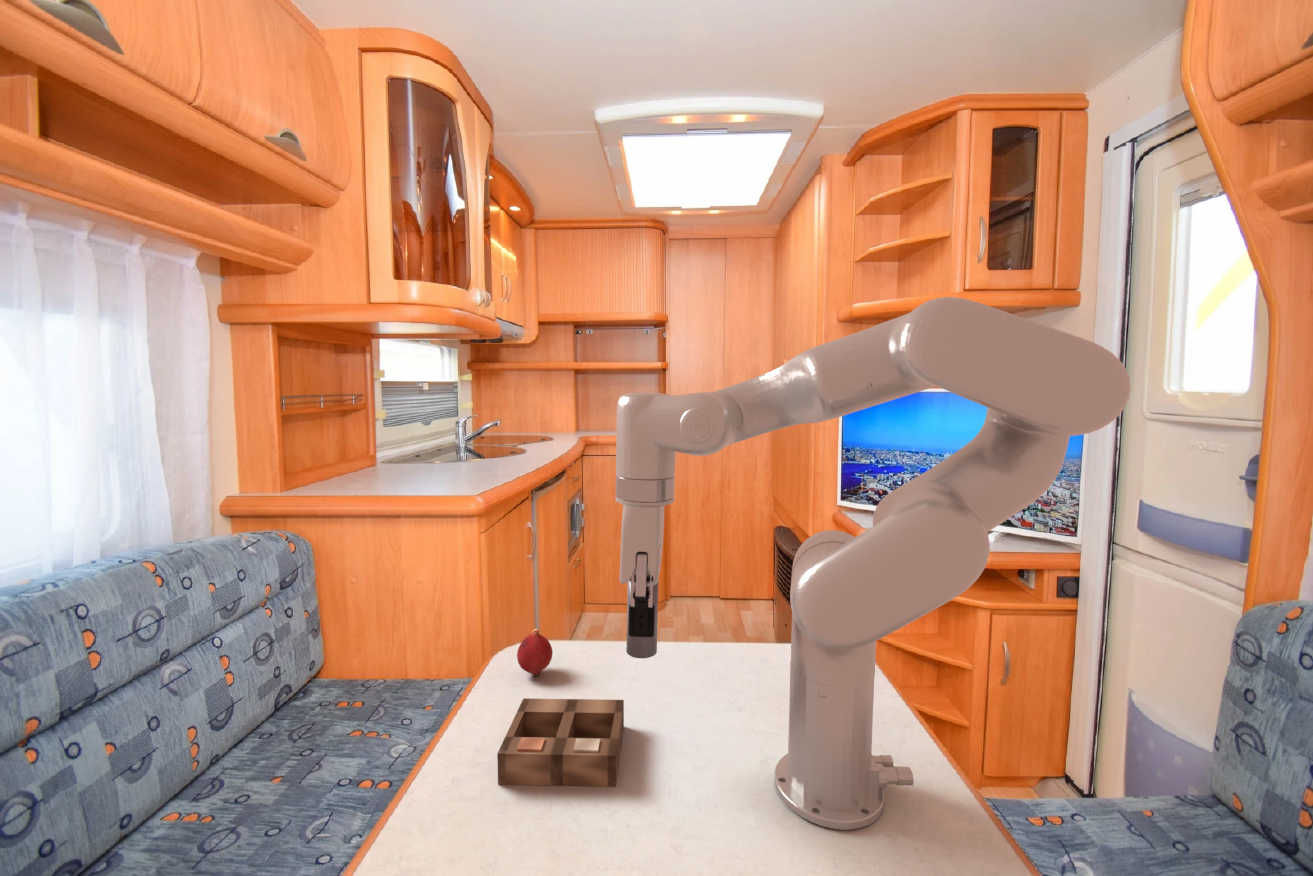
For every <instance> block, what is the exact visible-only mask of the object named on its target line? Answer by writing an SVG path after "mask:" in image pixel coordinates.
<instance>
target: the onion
mask: <svg viewBox="0 0 1313 876" xmlns="http://www.w3.org/2000/svg"><path fill="white" fill-rule="evenodd" d="M516 653H517V654H516V659H517V662H518V666H519V668H520V669H522V670H523V671H524V672H526V673H529V674H531V675H533V676H538V675H539V674H540V673H542V671H544V670H545V669H546V668H547V667H548V666H549V665H550V663H551V661H552V658H553V654H554V653H553V646H552V645H551V643H550V641H549V640H548V638H546V637H545V636H544V635H543V634H541V633H540V630H539V629H538V628H534V629H533V630H532V632H531V633H530V634H527V636H525V637H524V638H523V639H522V640H521V643H520V644H519V647H518V649H517V652H516Z"/></svg>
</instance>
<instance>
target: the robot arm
mask: <svg viewBox="0 0 1313 876" xmlns="http://www.w3.org/2000/svg"><path fill="white" fill-rule="evenodd" d="M1127 370H1128V369H1126V367H1125V366H1124V364H1123V362H1122V361H1121V360H1120V359H1119V358H1118V357H1117V356H1116V355H1115V354H1114V353H1113V352H1111V351H1109V349H1107V348H1105V347H1104V346H1102V345H1100V344H1097V343H1096V342H1094V341H1091V340H1088V339H1085V338H1082V337H1081V336H1080V337H1079V336H1077V335H1074V334H1072V333H1068V332H1065V331H1062V330H1059V329H1056V328H1053V327H1050V326H1047V325H1046V324H1045V325H1044V324H1041V323H1039V322H1036V321H1032V320H1030V319H1028V318H1025V317H1022V316H1019V315H1016V314H1014V313H1010V312H1009V311H1008V312H1007V311H1005V310H1001V309H999V308H996V307H994V306H990V305H988V304H984V303H980V302H977V301H974V300H970V299H967V298H963V297H955V296H943V297H937V298H934V299H930V300H927V301H925V302H922V303H921V304H920V305H918V306H917V307H915V308H914V309H913V310H912V311H909V312H908V313H906V314H904V315H900V316H898V317H895V318H892V319H890V320H886V321H884V322H881V323H878V324H876V325H874V326H871V327H868V328H866V329H863V330H860V331H857V332H854V333H851V334H849V335H845V336H843V337H840V338H838V339H837V338H836V339H834V340H833V339H832V340H831V341H828V342H826V343H823V344H818V345H817V346H813V347H811V348H809V349H807V350H804V351H802V352H800V353H798V354H796V355H795V356H793V357H792V358H790V359H789V360H787V362H785V363H783V364H782V365H780V366H778V367H776V368H774V369H772V370H769V371H767V372H766V373H765V372H764V373H762V374H761V375H758V376H757V375H756V376H755V377H753V378H750V379H747V380H743V381H742V382H738V383H736V384H733V385H730V386H728V387H724V388H722V389H719V390H715V391H710V392H709V391H706V392H704V391H703V392H694V393H685V394H678V395H670V394H667V393H663V392H662V393H661V392H659V393H658V392H627V393H624V394H622V395H621V396H619V398H618V401H617V404H616V405H617V406H616V439H615V440H616V444H615V445H616V446H615V447H616V449H615V451H616V452H615V454H616V455H615V502H616V503H618V504H620V505H622V514H621V530H620V557H619V559H620V561H619V579H618V580H619V583H620V584H621V585H625V583H626V584H628V582H629V580H630V578H631V604H629V636H631V637H653V636H654V612H655V605H653V585H655V584H657V583H658V584H659V579H660V574H661V565H662V557H663V556H662V555H663V551H664V550H663V548H664V531H665V506H668V505H669V506H670V505H671V504H673V503H675V485H676V484H675V482H676V481H675V480H676V479H675V478H676V477H675V476H676V453H679V454H680V453H681V454H685V455H690V456H697V457H705V456H710V455H711V456H712V455H714V454H717V453H718V452H720V451H721V450H723V449H725V448H726V447H728V446H732V445H734V444H736V443H739V442H743V441H745V440H749V439H752V438H754V437H758V436H760V435H764V434H767V433H770V432H774V431H777V430H781V429H785V428H787V427H792V426H797V425H804V424H816V423H817V424H818V423H823V422H826V421H830V420H834V419H837V418H841V417H843V416H847V415H850V414H853V413H855V412H856V413H857V412H858V411H863V410H865V409H869V408H872V407H875V406H878V405H881V404H884V403H888V402H890V401H894V400H896V399H901V398H904V397H907V396H909V395H913V394H915V393H920V392H922V391H925V390H928V389H932V388H935V387H938V388H940V389H943V390H945V391H947V392H950V393H952V394H954V395H957V396H959V397H961V398H963V399H966V400H968V401H971V402H973V403H976V404H979V405H981V406H984V407H986V416H985V419H984V422H983V425H982V427H981V428H980V430H979V432H978V433H977V434H976V435H975V436H974V438H973V439H971V440H970V441H969V442H968V443H966V444H965V445H964V446H962V447H961V448H960V449H959V450H957V451H956V452H954V453H953V454H951V455H950V456H949V457H947V458H946V459H944V460H943V461H940V462H939V463H938V464H936V465H934V466H933V467H931V468H929V469H927V470H926V471H925V472H923V473H921V474H919V475H918V476H916V477H915V478H913V479H912V480H910V481H908V482H906V483H903V484H902V485H901V486H899V487H897V488H895V489H893V490H891V492H889V493H888V494H887V495H885V496H884V497H883V498H882V499H881V500H880V501H879V503H878V504H877V505H876V507H875V510H874V512H873V515H872V526H871V527H869V528H868V529H866V530H864V531H863V532H862V533H860V534H858V535H856V536H855V535H852V534H850V533H848V532H845V531H841V530H834V529H833V530H831V529H828V530H822V531H819V532H817V533H815V534H812V535H811V536H809V537H807V539H806V540H804V542H803V543H802V544H800V546H799V547H798V549H797V551H796V553H795V555H794V559H793V562H792V568H791V575H790V576H791V578H790V590H789V593H790V594H789V597H790V599H789V600H790V608H791V635H790V636H791V638H790V639H791V640H790V641H791V642H790V643H791V644H790V668H789V703H788V704H789V705H788V706H789V708H788V710H789V711H788V745H787V746H788V750H787V753H786V754H785V755H783V756H782V757H781V758H780V759H779V760H778V762H777V763H776V766H775V770H774V786H775V789H776V792H777V795H779V798H781V800H782V801H783V803H784V804H785V805H786V806H787V807H788V808H789V809H790V810H791V811H792V812H794V813H796V814H797V815H798V816H799V817H801V818H803V819H804V820H807V821H809V822H810V823H813V824H814V825H815V824H816V825H818V826H821V827H825V828H829V829H833V830H842V831H844V830H845V831H846V830H858V829H861V828H865V827H867V826H869V825H871V824H873V823H874V822H876V821H877V820H878V819H879V818H880V816H881V815H882V813H883V811H884V807H885V806H884V805H885V793H884V789H886V788H887V786H888V785H896V786H912V787H913V786H914V775H913V771H912V769H911V768H910V767H909V766H901V765H900V766H895V765H894V759H893V757H892V755H890V754H889V755H888V754H880V755H873V753H872V747H873V746H872V744H873V724H874V723H873V721H874V719H873V717H874V697H875V694H874V693H875V676H876V655H877V654H876V653H877V652H876V650H877V641H879V640H881V639H883V638H885V637H887V636H889V635H890V634H892V633H895V632H896V631H898V630H900V629H902V628H903V627H906V626H907V625H909V624H911V623H912V622H914V621H917V620H918V619H920V618H922V617H923V616H926V615H927V614H929V613H930V612H932V611H935V610H936V609H938V608H939V607H942V606H943V605H945V604H947V603H949V602H950V601H952V600H955V598H957V597H958V596H959V597H960V596H961V595H962V594H963V593H964V592H966V591H967V590H968V589H969V588H970V587H972V585H974V583H976V581H977V580H978V579H979V578H980V576H981V575H982V574H983V572H984V571H985V569H986V566H987V564H988V562H989V561H988V560H989V557H990V548H991V547H990V546H991V545H990V538H989V534H988V533H989V532H990V531H992V530H993V529H994V528H996V527H998V526H999V525H1001V524H1002V523H1005V522H1006V521H1007V520H1009V519H1010V518H1012V517H1013V516H1014V515H1017V514H1018V513H1020V512H1021V511H1023V510H1024V509H1026V508H1027V507H1029V506H1030V505H1032V504H1033V503H1034V502H1036V501H1037V500H1038V499H1039V498H1041V497H1042V496H1043V494H1045V493H1046V492H1047V491H1048V490H1049V488H1050V487H1051V486H1052V485H1053V483H1054V482H1055V480H1056V479H1057V477H1058V475H1059V473H1060V470H1061V469H1062V467H1063V465H1064V461H1065V458H1066V454H1067V451H1068V446H1069V443H1070V437H1075V436H1081V435H1086V434H1087V435H1088V434H1091V433H1094V432H1096V431H1098V430H1099V431H1100V430H1101V429H1103V428H1104V427H1106V426H1108V425H1109V424H1111V423H1113V421H1115V420H1116V419H1117V418H1118V417H1119V416H1120V415H1121V413H1122V412H1123V411H1124V409H1125V408H1126V406H1127V403H1128V401H1129V399H1130V394H1131V393H1130V392H1131V378H1130V377H1129V373H1128V371H1127ZM635 577H636V581H635ZM646 577H650V581H646ZM646 587H649V592H648V591H646Z"/></svg>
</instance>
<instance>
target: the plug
mask: <svg viewBox="0 0 1313 876" xmlns="http://www.w3.org/2000/svg"><path fill="white" fill-rule="evenodd" d="M635 581H636V577H635ZM646 581H650V577H646ZM626 591H627V594H626V595H627V596H626V597H627V598H626V599H627V601H626V605H627V606H626V650H625V651H626V654H627V655H628V656H629V657H631V658H635V659H648V658H652V657H654V656H655V655H656V654H657V652H658V620H659V617H658V614H659V582H658V583H657V584H655V585H653V605H655V612H654V636H653V637H631V636H629V604H631V578H630V580H629V582H628V583H627V590H626ZM646 591H648V592H649V587H646Z"/></svg>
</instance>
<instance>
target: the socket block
mask: <svg viewBox="0 0 1313 876" xmlns="http://www.w3.org/2000/svg"><path fill="white" fill-rule="evenodd" d="M624 703H625V702H624V699H600V698H598V699H596V698H595V699H593V698H591V699H589V698H588V699H587V698H585V699H584V698H582V699H581V698H522V701H521V703H520V704H519V707H518V708H517V711H516V714H515V716H514V717H513V719H512V720H511V721H512V722H511V723H510V726H509V727H508V731H507V732H506V735H505V736H504V739H503V741H502V743H501V745H500V748H499V749H498V751H497V757H496V759H497V785H502V786H503V785H505V786H507V785H508V786H513V785H514V786H515V785H516V786H556V787H557V786H559V787H560V786H561V787H562V786H564V787H568V786H569V787H571V786H572V787H614V788H615V787H617V783H618V782H617V781H618V773H619V765H620V759H621V758H620V757H621V750H622V743H623V734H624V727H625V726H624V725H625V723H624V722H625V721H624V720H625V715H624V714H625V710H624V709H625V708H624V707H625V705H624Z"/></svg>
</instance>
